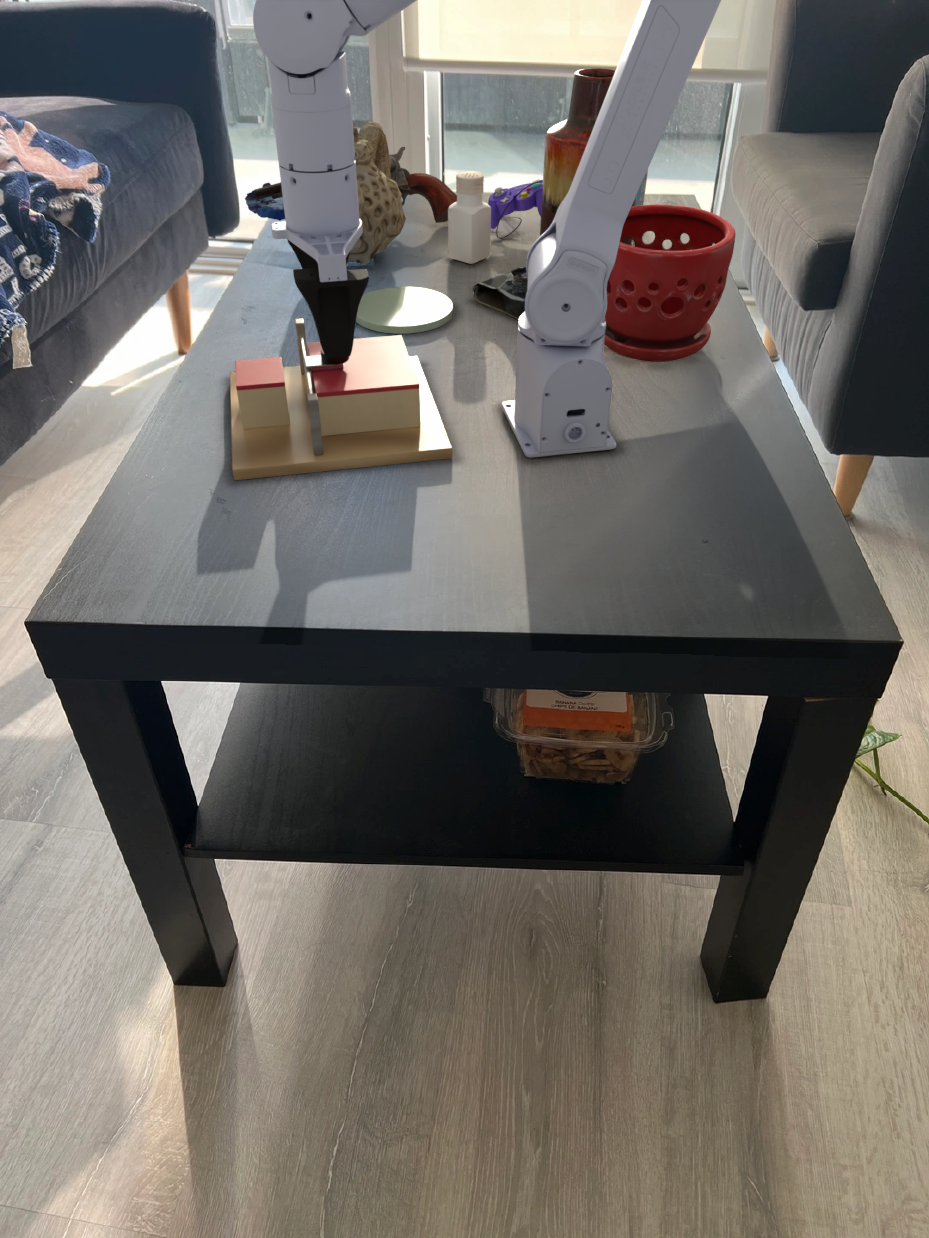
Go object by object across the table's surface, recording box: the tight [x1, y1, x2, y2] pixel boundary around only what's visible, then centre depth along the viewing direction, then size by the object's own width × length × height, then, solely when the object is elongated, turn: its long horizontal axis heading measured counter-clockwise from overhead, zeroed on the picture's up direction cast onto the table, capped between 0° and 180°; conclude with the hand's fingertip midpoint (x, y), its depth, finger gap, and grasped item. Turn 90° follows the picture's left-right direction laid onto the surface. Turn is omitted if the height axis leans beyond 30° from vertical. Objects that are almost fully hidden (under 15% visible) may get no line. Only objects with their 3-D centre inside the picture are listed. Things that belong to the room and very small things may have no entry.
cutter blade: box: [301, 338, 349, 394], centre depth 81 cm, size 11×4×5 cm, turn 12°
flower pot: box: [604, 203, 736, 363], centre depth 91 cm, size 13×13×12 cm
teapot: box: [347, 120, 407, 266], centre depth 109 cm, size 21×12×15 cm, turn 170°
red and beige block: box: [306, 334, 421, 436], centre depth 82 cm, size 10×9×4 cm
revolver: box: [253, 146, 457, 224], centre depth 123 cm, size 26×4×12 cm
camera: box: [472, 266, 528, 320], centre depth 101 cm, size 5×10×4 cm, turn 42°
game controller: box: [487, 179, 543, 240], centre depth 120 cm, size 10×8×10 cm
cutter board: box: [229, 318, 453, 481], centre depth 81 cm, size 18×18×6 cm
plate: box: [356, 286, 454, 335], centre depth 101 cm, size 11×11×1 cm
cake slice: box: [234, 356, 290, 429], centre depth 80 cm, size 5×4×4 cm
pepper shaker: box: [447, 171, 492, 265], centre depth 111 cm, size 4×4×10 cm
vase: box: [539, 67, 637, 246], centre depth 106 cm, size 11×11×20 cm
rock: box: [244, 189, 285, 222], centre depth 127 cm, size 15×17×2 cm
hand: (333, 336), depth 78 cm, fingers open, 7 cm apart
